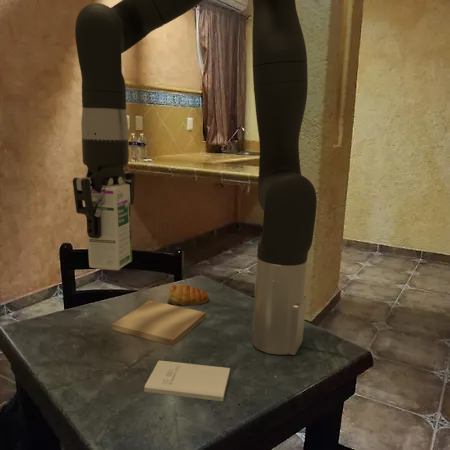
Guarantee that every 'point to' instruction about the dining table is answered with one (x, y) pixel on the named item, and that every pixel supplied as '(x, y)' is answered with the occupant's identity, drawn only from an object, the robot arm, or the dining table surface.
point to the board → (159, 322)
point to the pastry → (187, 295)
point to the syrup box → (112, 230)
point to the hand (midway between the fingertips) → (107, 233)
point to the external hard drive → (188, 380)
